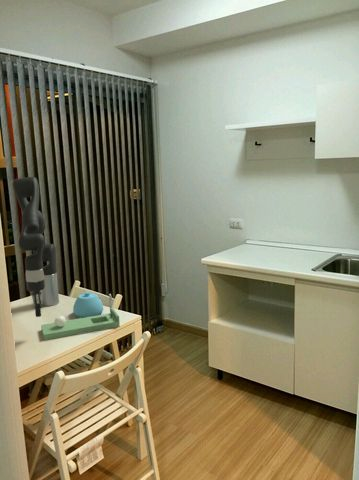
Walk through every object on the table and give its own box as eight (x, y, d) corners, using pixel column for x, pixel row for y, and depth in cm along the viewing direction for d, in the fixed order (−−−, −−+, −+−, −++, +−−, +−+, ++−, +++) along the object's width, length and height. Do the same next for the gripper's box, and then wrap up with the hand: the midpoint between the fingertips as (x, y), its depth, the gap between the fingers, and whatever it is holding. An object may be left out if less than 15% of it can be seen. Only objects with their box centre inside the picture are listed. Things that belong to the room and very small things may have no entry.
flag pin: (110, 317, 196) (108, 293, 194) (111, 317, 197) (110, 293, 194) (112, 320, 193) (110, 296, 191) (113, 319, 194) (112, 295, 191)
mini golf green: (41, 330, 190) (40, 319, 189) (113, 317, 203) (112, 308, 202) (44, 340, 179) (43, 329, 178) (119, 326, 192) (119, 316, 191)
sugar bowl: (68, 313, 210) (66, 292, 208) (94, 306, 220) (92, 285, 217) (82, 321, 199) (80, 299, 196) (109, 313, 208) (107, 292, 206)
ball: (54, 325, 188) (53, 315, 187) (65, 323, 190) (64, 313, 189) (55, 329, 184) (54, 319, 183) (67, 327, 186) (66, 317, 185)
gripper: (25, 276, 183) (28, 312, 187) (26, 283, 171) (30, 322, 175) (42, 274, 186) (45, 310, 189) (45, 281, 174) (48, 319, 178)
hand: (38, 316), depth 182 cm, fingers closed
